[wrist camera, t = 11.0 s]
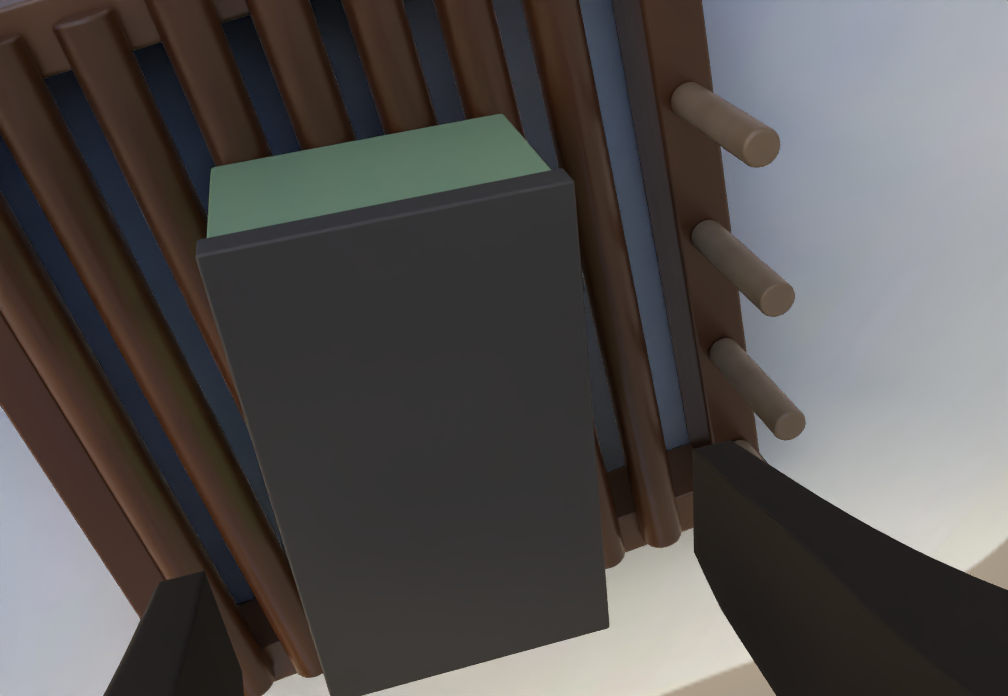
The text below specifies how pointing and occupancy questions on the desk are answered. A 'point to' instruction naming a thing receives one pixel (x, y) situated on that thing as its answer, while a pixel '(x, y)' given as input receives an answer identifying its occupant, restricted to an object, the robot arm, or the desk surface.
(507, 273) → the box
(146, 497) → the dish rack
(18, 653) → the desk surface
